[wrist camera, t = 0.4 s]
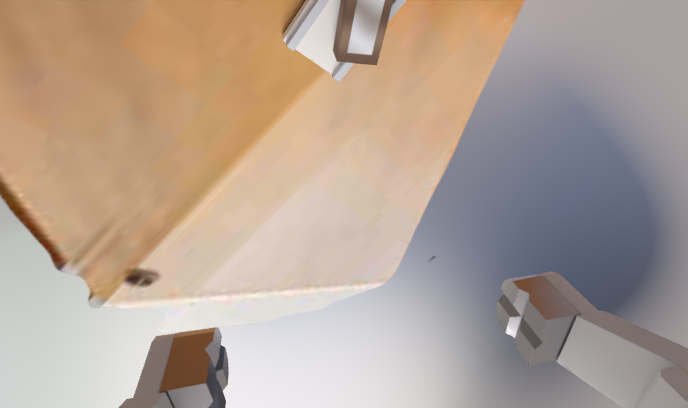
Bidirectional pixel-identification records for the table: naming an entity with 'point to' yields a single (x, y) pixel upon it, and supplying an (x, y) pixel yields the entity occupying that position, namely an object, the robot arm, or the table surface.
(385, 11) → the picture frame
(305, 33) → the picture ledge
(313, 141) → the table surface
